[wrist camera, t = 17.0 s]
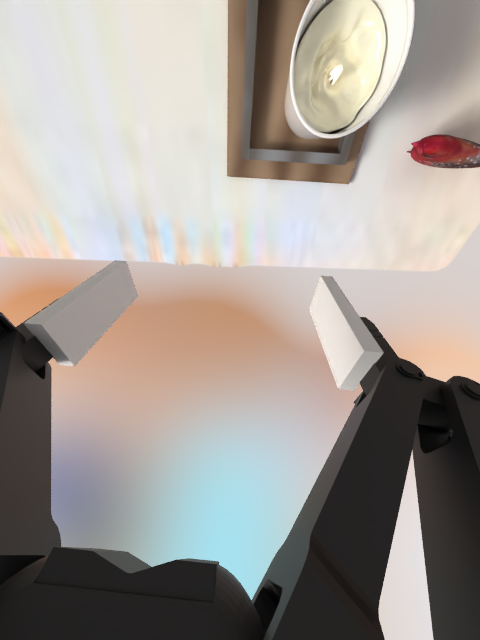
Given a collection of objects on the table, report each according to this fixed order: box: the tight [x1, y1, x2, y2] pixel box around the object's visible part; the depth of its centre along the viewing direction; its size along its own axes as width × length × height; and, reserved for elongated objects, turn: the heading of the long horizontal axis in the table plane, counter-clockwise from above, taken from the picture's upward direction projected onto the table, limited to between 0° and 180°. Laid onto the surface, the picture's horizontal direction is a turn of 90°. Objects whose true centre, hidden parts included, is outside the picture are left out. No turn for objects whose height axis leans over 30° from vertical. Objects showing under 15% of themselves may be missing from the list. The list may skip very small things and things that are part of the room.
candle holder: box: [284, 0, 415, 140], centre depth 21 cm, size 10×10×12 cm
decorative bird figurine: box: [407, 135, 480, 168], centre depth 26 cm, size 3×18×10 cm, turn 83°
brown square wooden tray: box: [227, 0, 370, 184], centre depth 25 cm, size 20×20×4 cm
